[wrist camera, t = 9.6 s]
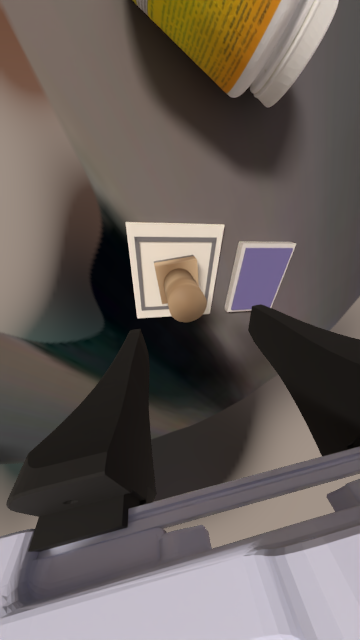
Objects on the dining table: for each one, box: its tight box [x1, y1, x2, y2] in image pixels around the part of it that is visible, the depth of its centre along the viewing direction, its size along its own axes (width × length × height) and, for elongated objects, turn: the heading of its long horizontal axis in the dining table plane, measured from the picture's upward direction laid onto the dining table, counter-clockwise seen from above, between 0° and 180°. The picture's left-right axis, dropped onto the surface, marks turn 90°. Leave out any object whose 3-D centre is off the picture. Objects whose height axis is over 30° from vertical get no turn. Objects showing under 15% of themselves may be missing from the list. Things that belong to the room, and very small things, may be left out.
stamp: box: [154, 255, 207, 322], centre depth 16 cm, size 4×4×6 cm
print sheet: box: [126, 222, 224, 318], centre depth 19 cm, size 9×10×1 cm
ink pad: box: [225, 241, 296, 312], centre depth 20 cm, size 6×8×1 cm
